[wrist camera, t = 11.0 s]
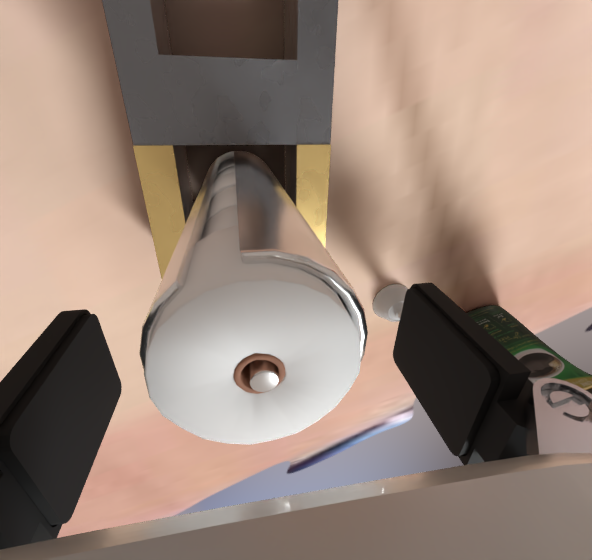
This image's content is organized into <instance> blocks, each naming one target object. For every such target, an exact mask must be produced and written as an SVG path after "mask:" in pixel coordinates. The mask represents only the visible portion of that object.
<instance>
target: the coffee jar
mask: <svg viewBox="0 0 592 560" xmlns="http://www.w3.org/2000/svg"><path fill="white" fill-rule="evenodd" d="M466 314H468V315H469V316H470V317H471V318H472V319H473V320H474V321H475V322H477V323H478V324H479V325H480V326H481V327H482V328H483V329H484V330H486V331H487V332H488V333H489V334H490V335H491V336H492V337H493V338H494V339H496V340H497V341H498V342H499V343H500V344H501V345H502V346H503V347H505V348H506V349H507V350H508V351H509V352H510V353H511V354H512V355H513V356H515V357H516V358H517V359H518V360H519V361H520V362H521V363H522V364H524V365H525V366H526V367H527V368H528V369H529V370H530V371H531V373H530V375H529V377H528V379H529V380H530V381H531V382H532V383H533V384H534V383H535V382H536V381H537V380H539V379H543V378H555V379H559V380H563V381H567V382H569V383H572V384H574V385H577V386H579V387H581V388H582V389H584V390H586V391H588V392H589V393H591V394H592V375H590V374H588V373H586V372H584V371H582V370H581V369H579V368H577V367H576V366H574V365H573V364H571V363H570V362H568V361H567V360H565V359H564V358H563V357H561V356H560V355H559V354H557V353H556V352H555V351H554V350H552V349H551V348H550V347H549V346H547V345H546V344H545V343H544V342H542V341H541V340H540V339H539V338H538V337H536V336H535V335H534V334H533V333H532V332H531V331H529V330H528V329H527V328H526V327H525V326H524V325H523V324H521V323H520V322H519V321H518V320H517V319H516V318H514V317H513V316H512V315H511V314H510V313H508V312H507V311H506V310H504V309H503V308H502V307H500V306H496V305H489V306H485V307H482V308H479V309H476V310H473V311H470V312H468V313H466Z"/></svg>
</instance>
